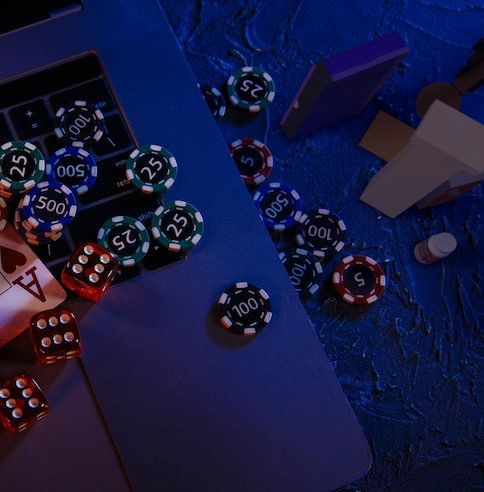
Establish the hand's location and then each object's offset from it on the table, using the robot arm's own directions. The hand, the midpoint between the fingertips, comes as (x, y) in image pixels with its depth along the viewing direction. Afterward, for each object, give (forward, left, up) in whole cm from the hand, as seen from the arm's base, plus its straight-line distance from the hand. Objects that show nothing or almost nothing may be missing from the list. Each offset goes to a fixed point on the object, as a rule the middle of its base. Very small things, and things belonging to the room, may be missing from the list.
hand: (466, 80), depth 113 cm
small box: (-10, +10, -23) cm, 27 cm away
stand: (-2, +16, -23) cm, 28 cm away
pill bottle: (-15, +22, -23) cm, 35 cm away
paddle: (-1, -1, -3) cm, 4 cm away
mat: (+2, +3, -23) cm, 23 cm away
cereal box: (+18, +7, -23) cm, 30 cm away
